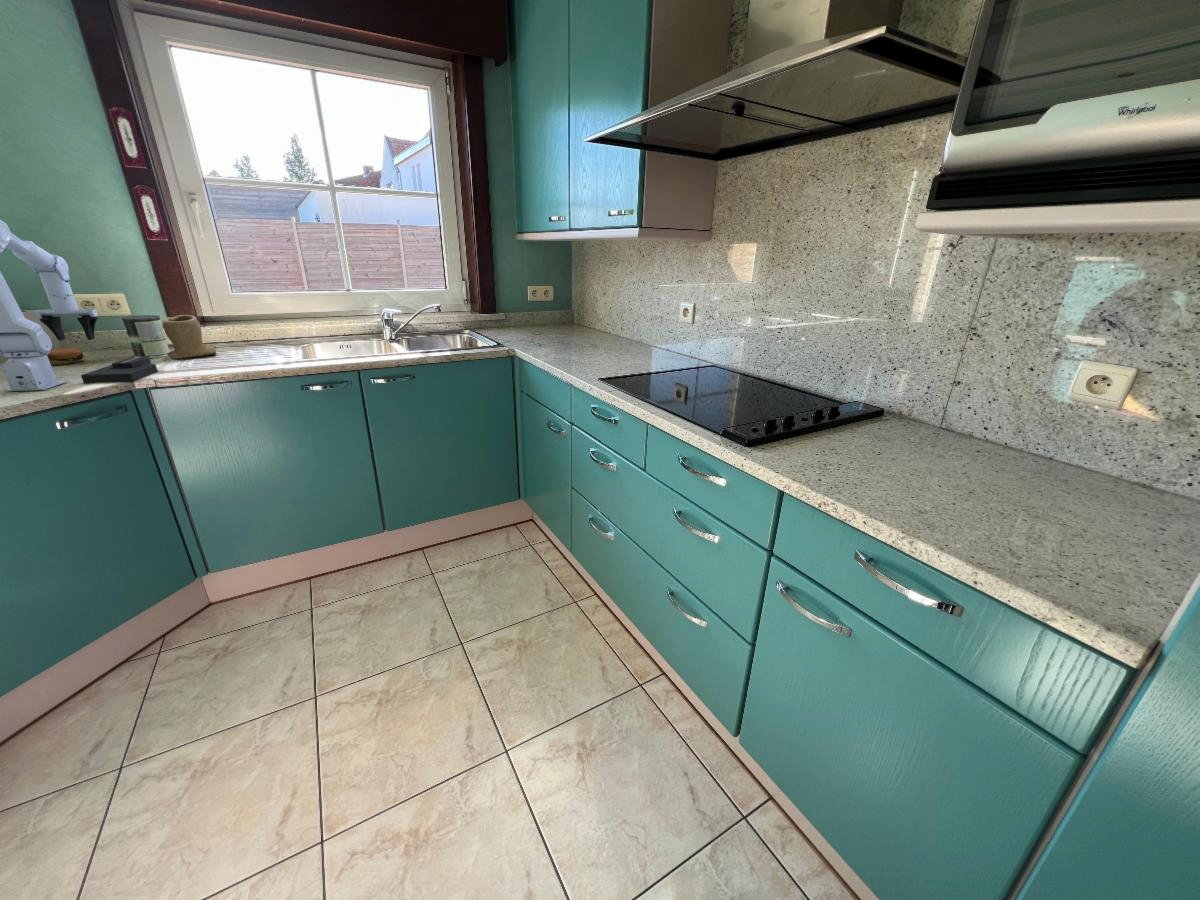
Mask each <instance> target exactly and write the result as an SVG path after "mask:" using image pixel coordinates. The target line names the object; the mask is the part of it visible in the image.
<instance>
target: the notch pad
mask: <svg viewBox="0 0 1200 900" xmlns="http://www.w3.org/2000/svg"><path fill="white" fill-rule="evenodd" d="M158 372H159V371H158V368H157V364H156V363H151V364H145V365H142V366H139V367H136V368H124V369H114V368H113V365H112V364H110V365H106V366H104V367H101V368H98V369H95V370H92V371H90V372H85V373H83V374H81V376H80V377H81V379H82V382H83V384H104V383H106V384H108V383H133V382H135V381H138V380H141V379H143V378H145V377H148V376H150V375H153V374H155V373H158Z"/></svg>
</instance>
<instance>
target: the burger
mask: <svg viewBox="0 0 1200 900" xmlns="http://www.w3.org/2000/svg"><path fill="white" fill-rule="evenodd" d="M47 357H48V359H49V362H50V364H51V366H63V365H69V364H76V363H79V362H81V361H84V358H86V356H84V354H83V352H82V351H81V350H80V349H78V348H75V347H72V348H55V349H51V350H50V352H49V353H48V354H47Z"/></svg>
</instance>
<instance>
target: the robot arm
mask: <svg viewBox="0 0 1200 900" xmlns="http://www.w3.org/2000/svg"><path fill="white" fill-rule="evenodd" d="M5 249H9V250H11V252H12V254H13V255H14V256H15V257H16V258H17V259H19V260H21V261H23V262H24V263H26V264H27V265H28V266H29V267H30V269H31V270H32V271H33V272H34V273H35V274H38V276H39V278H40V281H41V283H42V286H43V289H44V291H45V294H46V296H47V300H48V302H49V304H50V307H51V309H37V310H34V313H35V315H36V317H37V318H39V321H40V322H41V323H42V324H43V325H44V326H45V327H47V328H48V329H49V330H50V331H51V332H52V334H53V335H54V336H55V338H56V339H57V340H58V341H64V340H66V335H65V333H64V330H63V327H62V320H61V319H62V317H76V320H77V321H78V323H79V324H80V325H81V328H82V329H83V331H84V334H85V337H86V339H87V340H88V341H93V340H95V329H96V324H97V320H98V317H99V314H98V310H97V309H82V308H81V309H79V307H78V304H77V301H76V298H75V295H74V292H73V289H72V287H71V284H70V274H69V265H68V263H67V261H66V260H65V258H64V257H62V256H60V255H58V254H51V253H50V252H48V251H46V250H45V249H43V248H42V247H40V246H39V245H37V244H35V243H34V242H33V241H31V240H22V239H20V238H19V237H18V236H16V235H15V234H14V233H12V232H11V230H10V228H9V226H8V224H7V222H4V221H3V220H2V219H0V254H2V253H3V252H4V250H5ZM13 294H14V293H12V290H11V288H10V287H9V285H8V283H7V281H6V279H5V277H4V275H3V273H2V271H1V270H0V354H1V355H3V357H4V358H8V359H7V360H6V361H4V362H3V364H2V372H3V374H4V376H5V378H6V381H7V383H8V386H9V388H8V389H7V392H25V391H26V392H27V391H28V392H29V391H44V390H47V389H50V388H53V387H56V386H59V385H62V384H65V383H67V380H57V376H56V374H55V372H54V369H53V367H52V365H51V364H50V362H49V359H48V357H47V354H48V353H49V352H50V350H53V349H52V348H53V342H52V339H51V337H50V336H49V335H48V333H46V332H45V331H44V329H43V327H42V325H40V324H39V323H36V322H34V321H32V320H30V319H27V318H26V317H25V315H24V314H23V312H22V310H21V308H20V305H19V304H18V302H17V300H16V299H15V296H14V295H13Z"/></svg>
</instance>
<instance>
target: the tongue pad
mask: <svg viewBox="0 0 1200 900" xmlns="http://www.w3.org/2000/svg"><path fill="white" fill-rule="evenodd" d="M145 364H152V362H151V358H149V357H135V356H130V357H127V358H124V359H121V360H118V361H116V362H113V363H111V365H113V368H114V369H124V368H136V367H139V366H142V365H145Z"/></svg>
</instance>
